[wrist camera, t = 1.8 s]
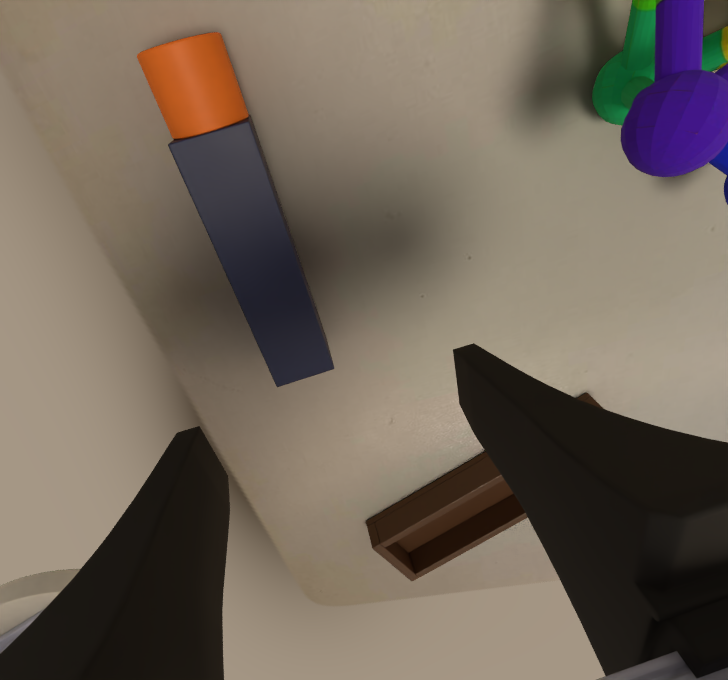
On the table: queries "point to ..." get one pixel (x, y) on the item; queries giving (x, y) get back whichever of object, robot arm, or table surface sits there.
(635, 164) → the decorative model
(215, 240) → the marker
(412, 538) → the pen tray
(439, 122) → the table surface
